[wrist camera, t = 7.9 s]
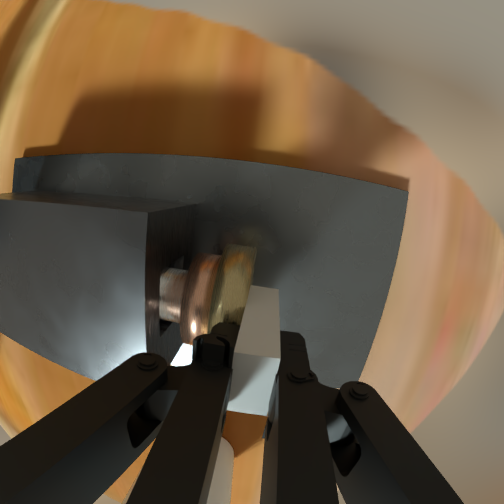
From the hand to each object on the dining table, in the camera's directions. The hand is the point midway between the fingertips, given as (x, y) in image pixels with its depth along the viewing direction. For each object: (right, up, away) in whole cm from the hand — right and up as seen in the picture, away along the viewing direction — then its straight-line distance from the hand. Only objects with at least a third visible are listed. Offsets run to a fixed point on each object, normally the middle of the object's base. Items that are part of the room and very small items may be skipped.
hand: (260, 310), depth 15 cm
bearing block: (-8, +2, +5) cm, 9 cm away
